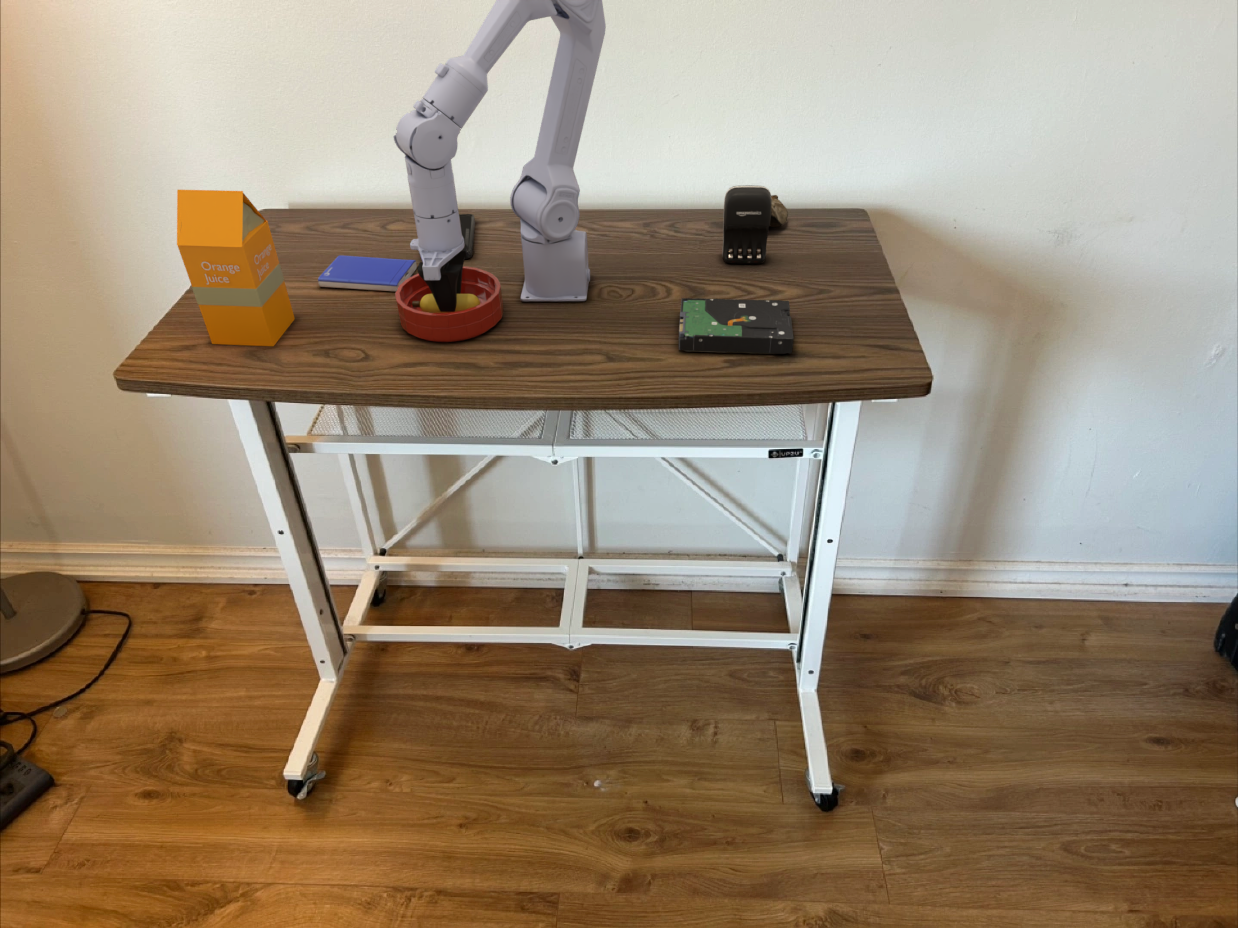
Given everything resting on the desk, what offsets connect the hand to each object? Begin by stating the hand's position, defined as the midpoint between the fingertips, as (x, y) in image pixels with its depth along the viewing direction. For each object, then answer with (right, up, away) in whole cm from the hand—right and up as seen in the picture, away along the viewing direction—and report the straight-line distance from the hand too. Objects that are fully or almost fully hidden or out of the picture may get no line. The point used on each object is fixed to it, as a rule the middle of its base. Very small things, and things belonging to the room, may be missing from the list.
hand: (450, 304), depth 123 cm
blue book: (-15, +6, +12) cm, 20 cm away
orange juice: (-27, -4, 0) cm, 27 cm away
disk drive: (+39, -5, -3) cm, 39 cm away
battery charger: (+43, +9, +14) cm, 46 cm away
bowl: (0, -2, +1) cm, 2 cm away
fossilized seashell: (+46, +17, +24) cm, 54 cm away
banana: (0, -1, +1) cm, 2 cm away
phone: (-4, +14, +22) cm, 26 cm away
